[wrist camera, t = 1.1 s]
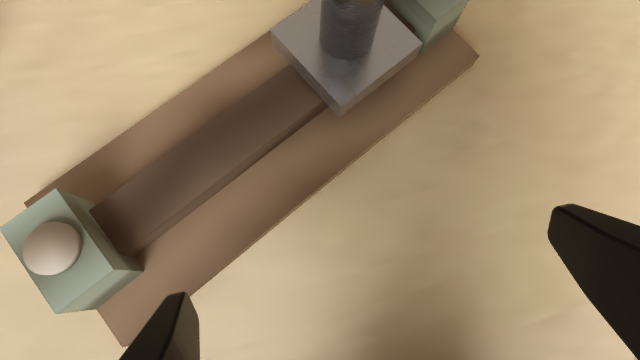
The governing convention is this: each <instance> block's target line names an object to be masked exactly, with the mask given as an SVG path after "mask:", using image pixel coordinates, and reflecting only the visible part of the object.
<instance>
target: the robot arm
mask: <svg viewBox="0 0 640 360" xmlns="http://www.w3.org/2000/svg"><path fill="white" fill-rule="evenodd" d="M548 239H549V241H550V243H551V244H552V246H553V247H554V249H555V250H556V252H557V253H558V255H559V256H560V258H561V259H562V261H563V262H564V264H565V266H566V267H567V269H568V270H569V272H570V273H571V275H572V276H573V278H574V279H575V281H576V282H577V284H578V285H579V287H580V288H581V289H582V291H583V292H584V294H585V295H586V296H587V297H588V299H589V300H590V301H591V303H592V304H593V305H594V306H595V308H596V309H597V310H598V311H599V312H600V314H601V315H602V316H603V317H604V319H605V320H606V321H607V322H608V323H609V325H610V326H611V327H612V328H613V330H614V331H615V332H616V333H617V334H618V336H619V337H620V338H621V339H622V341H623V342H624V343H625V344H626V345H627V347H628V348H629V349H630V350H631V352H632V353H633V354H634V355H635V357H636V358H637V359H638V360H640V226H639V225H636V224H633V223H630V222H627V221H624V220H621V219H618V218H615V217H612V216H609V215H606V214H603V213H600V212H597V211H594V210H591V209H588V208H585V207H582V206H579V205H576V204H565V205H561V206H557V207H555V208H554V209H553V210H552V214H551V219H550V223H549V228H548ZM119 360H200V342H199V319H198V315H197V312H196V310H195V308H194V306H193V304H192V302H191V299H190V297H189V295H188V294H187V293H186V292H184V291H183V292H178V293H174V294H170V295H168V296H166V297H165V299H164V300H163V301H162V303H161V304H160V305H159V307H158V308H157V309H156V311H155V312H154V313H153V315H152V316H151V317H150V319H149V320H148V321H147V323H146V324H145V325H144V327H143V328H142V329H141V331H140V332H139V333H138V335H137V336H136V337H135V339H134V340H133V341H132V343H131V344H130V345H129V347H128V348H127V349H126V351H125V352H124V353H123V355H122V356H121V357H120V359H119Z"/></svg>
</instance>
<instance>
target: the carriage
mask: <svg viewBox="0 0 640 360" xmlns="http://www.w3.org/2000/svg"><path fill="white" fill-rule="evenodd" d="M383 3H384V0H312V1H310V2H309V3H307V4H306V5H305V6H303V7H302V8H300V9H299V10H297V11H296V12H295V13H293V14H292V15H290V16H289V17H287V18H286V19H285V20H283V21H282V22H280V23H279V24H277V25H276V26H275V27H273V28H272V29H270V33H271V40H272V45H273V46H274V47H275V48H276V49H277V50H278V51H279V52H280V54H281V55H282V56H283V57H284V58H285V59H286V60H287V61H288V62H289V63H290V64H291V66H292V67H293V68H294V69H295V70H296V71H297V72H298V73H299V74H300V75H301V76H302V78H303V79H304V80H305V81H306V82H307V83H308V84H309V85H310V86H311V87H312V88H313V90H314V91H315V92H316V93H317V94H318V95H319V96H320V97H321V98H322V99H323V100H324V101H325V103H326V104H327V105H328V106H329V107H330V108H331V109H332V110H333V111H334V112H335V113H336V115H337V116H338V117H341V116H342V115H343V114H345V113H346V112H347V111H348V110H350V109H351V108H352V107H353V106H355V105H356V104H357V103H359V102H360V101H361V100H362V99H364V98H365V97H366V96H367V95H369V94H370V93H371V92H373V91H374V90H375V89H376V88H378V87H379V86H380V85H381V84H383V83H384V82H385V81H387V80H388V79H389V78H390V77H392V76H393V75H394V74H395V73H397V72H398V71H399V70H401V69H402V68H403V67H404V66H406V65H407V64H408V63H410V62H411V61H412V60H413V59H415V58H416V57H417V54H418V52H419V50H420V48H421V46H422V44H423V43H422V42H421V41H420V40H419V39H418V38H417V37H416V36H415V35H414V34H413V33H412V32H411V31H410V30H409V29H408V28H407V27H406V26H405V25H404V24H403V23H402V22H401V21H400V20H399V19H398V18H397V17H396V16H395V15H394V14H393V13H392V12H391V11H390V10H388V9H387V8H386V7H385V6H384V5H383Z"/></svg>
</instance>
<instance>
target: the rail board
mask: <svg viewBox="0 0 640 360" xmlns="http://www.w3.org/2000/svg"><path fill="white" fill-rule="evenodd" d="M468 1H469V0H384V3H383V5H384V6H385V7H386V8H387V9H388V10H390V11H391V12H392V13H393V14H394V15H395V16H396V17H397V18H398V19H399V20H400V21H401V22H402V23H403V24H404V25H405V26H406V27H407V28H408V29H409V30H410V31H411V32H412V33H413V34H414V35H415V36H416V37H417V38H418V39H419V40H420V41H421V42H422V43H423V44H422V46H421V48H420V50H419V52H418V54H417V57H416V58H415V59H413V60H412V61H411V62H410V63H408V64H407V65H406V66H404V67H403V68H402V69H401V70H399V71H398V72H397V73H395V74H394V75H393V76H392V77H390V78H389V79H388V80H387V81H385V82H384V83H383V84H381V85H380V86H379V87H378V88H376V89H375V90H374V91H373V92H371V93H370V94H369V95H367V96H366V97H365V98H364V99H362V100H361V101H360V102H359V103H357V104H356V105H355V106H353V107H352V108H351V109H350V110H348V111H347V112H346V113H345V114H343V115H342V116H341V117H338V116H337V115H336V113H335V112H334V111H333V110H332V109H331V108H330V107H329V106H328V105H327V104H326V103H325V101H324V100H323V99H322V98H321V97H320V96H319V95H318V94H317V93H316V92H315V91H314V90H313V88H312V87H311V86H310V85H309V84H308V83H307V82H306V81H305V80H304V79H303V78H302V76H301V75H300V74H299V73H298V72H297V71H296V70H295V69H294V68H293V67H292V66H291V64H290V63H289V62H288V61H287V60H286V59H285V58H284V57H283V56H282V55H281V54H280V52H279V51H278V50H277V49H276V48H275V47H274V46H273V45H272V40H271V33H270V31H269V32H267V33H266V34H264V35H263V36H261V37H260V38H259V39H257V40H256V41H254V42H253V43H251V44H250V45H249V46H247V47H246V48H244V49H243V50H241V51H240V52H239V53H237V54H236V55H234V56H233V57H231V58H230V59H229V60H227V61H226V62H224V63H223V64H221V65H220V66H219V67H217V68H216V69H214V70H213V71H211V72H210V73H209V74H207V75H206V76H204V77H203V78H201V79H200V80H199V81H197V82H196V83H194V84H193V85H191V86H190V87H189V88H187V89H186V90H184V91H183V92H181V93H180V94H179V95H177V96H176V97H174V98H173V99H171V100H170V101H169V102H167V103H166V104H164V105H163V106H161V107H160V108H159V109H157V110H156V111H154V112H153V113H151V114H150V115H149V116H147V117H146V118H144V119H143V120H141V121H140V122H139V123H137V124H136V125H134V126H133V127H131V128H130V129H129V130H127V131H126V132H124V133H123V134H121V135H120V136H119V137H117V138H116V139H114V140H113V141H111V142H110V143H109V144H107V145H106V146H104V147H103V148H101V149H100V150H99V151H97V152H96V153H94V154H93V155H91V156H90V157H89V158H87V159H86V160H84V161H83V162H81V163H80V164H79V165H77V166H76V167H74V168H73V169H71V170H70V171H69V172H67V173H66V174H64V175H63V176H61V177H60V178H59V179H57V180H56V181H54V182H53V183H51V184H50V185H49V186H47V187H46V188H44V189H43V190H41V191H40V192H39V193H37V194H36V195H34V196H33V197H31V198H30V199H29V200H27V201H26V202H24V204H25V205H26V207H27V209H25V210H24V211H23V212H21V213H20V214H18V215H17V216H16V217H14V218H13V219H11V220H10V221H8V222H7V223H6V224H4V225H3V226H1V227H0V231H1V232H2V234H3V235H4V237H5V239H6V240H7V242H8V243H9V245H10V246H11V248H12V249H13V251H14V252H15V254H16V255H17V257H18V258H19V260H20V261H21V263H22V264H23V266H24V267H25V269H26V270H27V272H28V273H29V275H30V276H31V278H32V280H33V281H34V283H35V284H36V286H37V287H38V289H39V290H40V292H41V293H42V295H43V296H44V298H45V299H46V301H47V302H48V304H49V305H50V307H51V308H52V310H53V311H54V313H55V314H61V313H69V312H77V311H85V310H93V309H97V311H98V312H99V314H100V315H101V317H102V318H103V319H104V321H105V322H106V324H107V325H108V327H109V328H110V330H111V331H112V333H113V334H114V336H115V337H116V339H117V340H118V341H119V343H120V344H121V346H122V347H126V346H129V345H130V344H131V343H132V341H133V340H134V339H135V337H136V336H137V335H138V333H139V332H140V331H141V329H142V328H143V327H144V325H145V324H146V323H147V321H148V320H149V319H150V317H151V316H152V315H153V313H154V312H155V311H156V309H157V308H158V307H159V305H160V304H161V303H162V301H163V300H164V299H165V297H166V296H168V295H170V294H174V293H178V292H183V291H184V292H186V293H187V294H188V295H189V297H190V296H191V295H192V294H193V293H195V292H196V291H197V290H198V289H200V288H201V287H202V286H203V285H204V284H206V283H207V282H208V281H209V280H211V279H212V278H213V277H214V276H215V275H217V274H218V273H219V272H220V271H222V270H223V269H224V268H225V267H226V266H228V265H229V264H230V263H231V262H233V261H234V260H235V259H236V258H237V257H239V256H240V255H241V254H242V253H243V252H245V251H246V250H247V249H248V248H250V247H251V246H252V245H253V244H254V243H256V242H257V241H258V240H259V239H261V238H262V237H263V236H264V235H265V234H267V233H268V232H269V231H270V230H272V229H273V228H274V227H275V226H276V225H278V224H279V223H280V222H281V221H283V220H284V219H285V218H286V217H287V216H289V215H290V214H291V213H292V212H293V211H295V210H296V209H297V208H298V207H300V206H301V205H302V204H303V203H304V202H306V201H307V200H308V199H309V198H311V197H312V196H313V195H314V194H315V193H317V192H318V191H319V190H320V189H322V188H323V187H324V186H325V185H326V184H328V183H329V182H330V181H331V180H333V179H334V178H335V177H336V176H337V175H339V174H340V173H341V172H342V171H343V170H345V169H346V168H347V167H348V166H350V165H351V164H352V163H353V162H354V161H356V160H357V159H358V158H359V157H361V156H362V155H363V154H364V153H365V152H367V151H368V150H369V149H370V148H372V147H373V146H374V145H375V144H376V143H378V142H379V141H380V140H381V139H383V138H384V137H385V136H386V135H387V134H389V133H390V132H391V131H392V130H393V129H395V128H396V127H397V126H398V125H400V124H401V123H402V122H403V121H404V120H406V119H407V118H408V117H409V116H411V115H412V114H413V113H414V112H415V111H417V110H418V109H419V108H420V107H422V106H423V105H424V104H425V103H426V102H428V101H429V100H430V99H431V98H432V97H434V96H435V95H436V94H437V93H439V92H440V91H441V90H442V89H443V88H445V87H446V86H447V85H448V84H450V83H451V82H452V81H453V80H454V79H456V78H457V77H458V76H459V75H461V74H462V73H463V72H464V71H465V70H467V69H468V68H469V67H470V66H472V65H473V64H474V62H475V61H476V60H477V58H478V57H479V55H478V54H477V53H476V52H475V51H474V50H473V49H472V48H471V47H470V46H469V45H468V44H467V43H466V42H465V41H464V40H463V39H462V38H460V37H459V36H458V35H457V34H456V33H455V32H454V31H453V30H452V29H453V27H454V26H455V24H456V22H457V20H458V19H459V17H460V15H461V13H462V12H463V10H464V8H465V6H466V5H467V3H468Z"/></svg>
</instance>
